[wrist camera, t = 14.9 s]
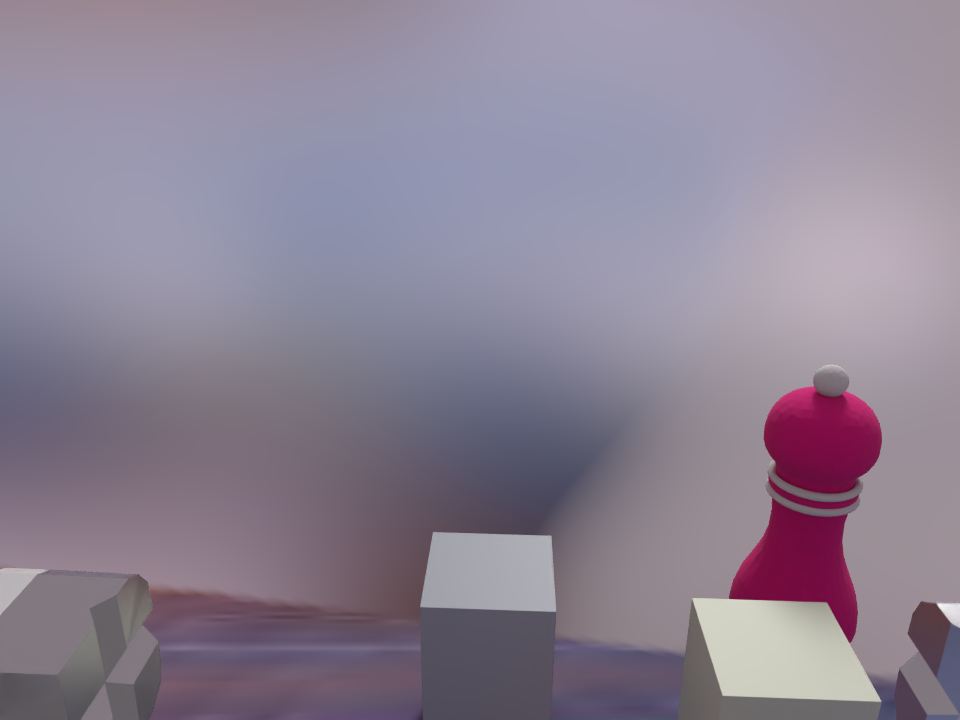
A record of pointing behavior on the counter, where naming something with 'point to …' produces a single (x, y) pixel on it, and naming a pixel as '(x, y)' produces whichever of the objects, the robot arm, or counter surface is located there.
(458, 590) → the cover
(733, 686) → the cover
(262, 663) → the counter surface
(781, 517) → the pepper mill
